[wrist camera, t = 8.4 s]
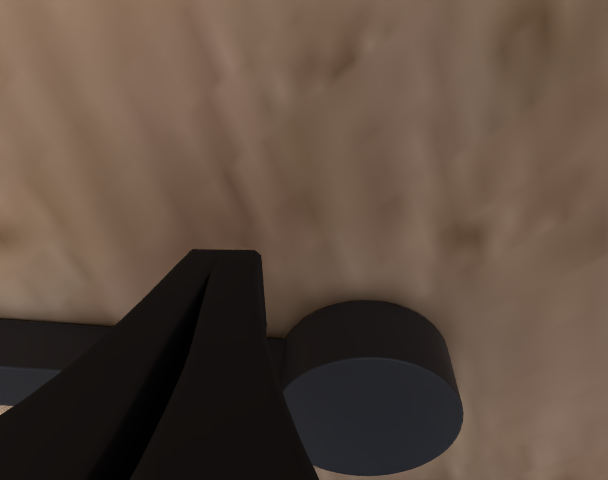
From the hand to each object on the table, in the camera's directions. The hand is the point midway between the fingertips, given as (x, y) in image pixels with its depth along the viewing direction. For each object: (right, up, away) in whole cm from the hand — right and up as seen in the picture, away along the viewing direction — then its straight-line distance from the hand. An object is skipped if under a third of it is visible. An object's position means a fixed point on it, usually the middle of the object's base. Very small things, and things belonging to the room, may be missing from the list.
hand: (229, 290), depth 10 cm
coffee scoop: (-1, -2, +5) cm, 5 cm away
